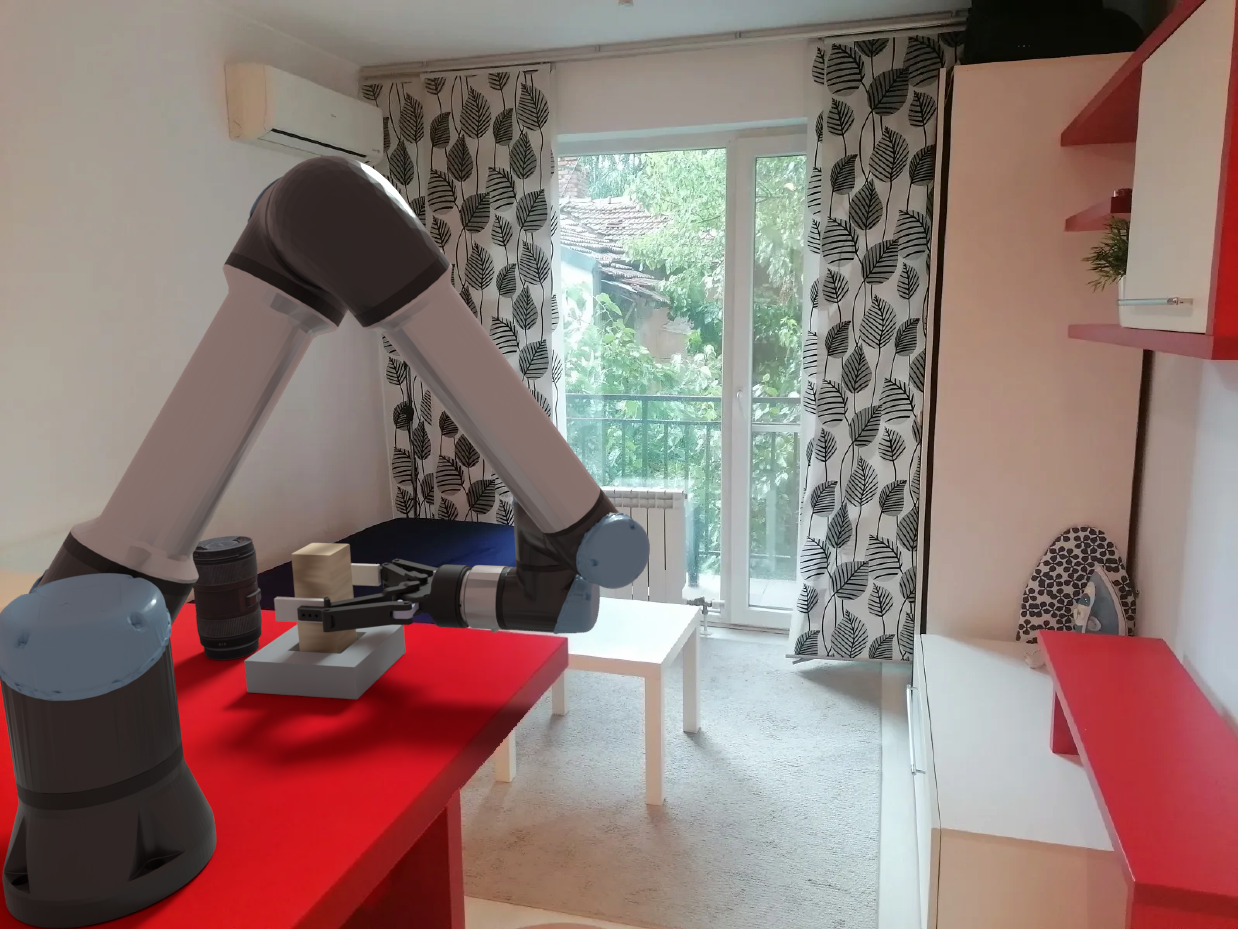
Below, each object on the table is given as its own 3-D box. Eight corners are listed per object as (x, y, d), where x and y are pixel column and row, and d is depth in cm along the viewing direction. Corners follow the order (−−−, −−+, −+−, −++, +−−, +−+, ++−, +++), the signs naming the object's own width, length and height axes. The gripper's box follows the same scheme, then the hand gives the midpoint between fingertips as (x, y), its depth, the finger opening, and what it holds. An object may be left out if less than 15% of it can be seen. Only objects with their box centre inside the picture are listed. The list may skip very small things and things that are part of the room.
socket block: (405, 652, 116) (403, 623, 115) (356, 699, 102) (354, 667, 102) (307, 647, 118) (305, 619, 118) (247, 692, 105) (244, 660, 104)
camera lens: (246, 634, 123) (236, 531, 121) (276, 648, 118) (266, 541, 115) (188, 652, 117) (176, 544, 114) (216, 668, 112) (204, 554, 109)
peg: (358, 664, 112) (349, 544, 109) (339, 681, 108) (329, 555, 105) (322, 662, 113) (312, 542, 110) (302, 678, 108) (291, 554, 105)
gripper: (433, 668, 94) (252, 658, 97) (502, 593, 118) (354, 586, 122) (429, 601, 93) (245, 594, 96) (499, 539, 117) (350, 534, 120)
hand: (306, 590), depth 109 cm, fingers open, 13 cm apart
